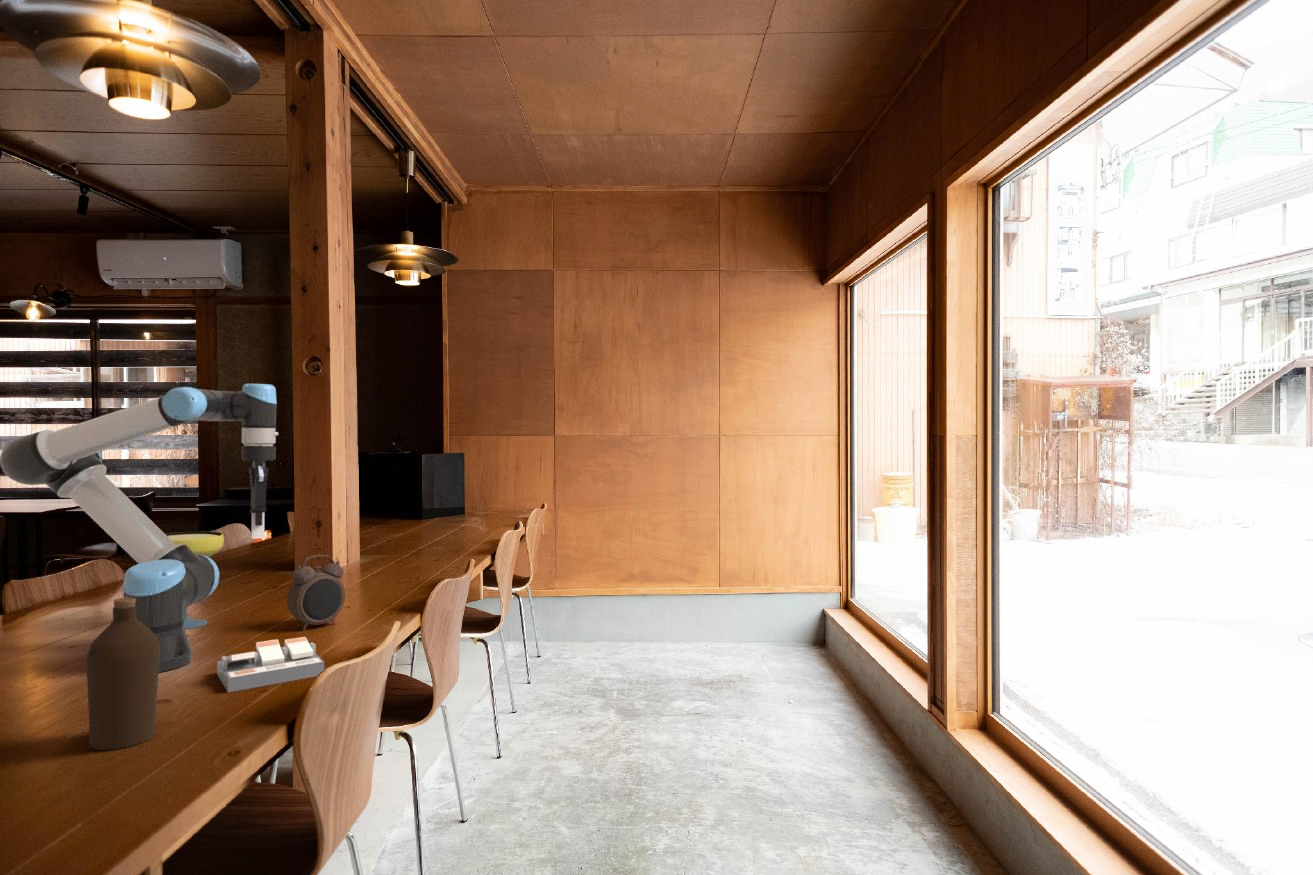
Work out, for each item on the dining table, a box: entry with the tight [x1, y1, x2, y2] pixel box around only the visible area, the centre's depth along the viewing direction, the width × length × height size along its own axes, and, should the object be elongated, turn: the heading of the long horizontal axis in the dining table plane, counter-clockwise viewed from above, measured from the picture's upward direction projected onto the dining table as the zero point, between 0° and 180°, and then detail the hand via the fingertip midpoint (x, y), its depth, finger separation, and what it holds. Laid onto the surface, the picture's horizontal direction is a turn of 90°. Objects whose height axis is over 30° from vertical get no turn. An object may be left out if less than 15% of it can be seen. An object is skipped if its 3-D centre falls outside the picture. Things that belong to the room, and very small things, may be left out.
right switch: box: [284, 636, 313, 659], centre depth 169 cm, size 4×8×1 cm, turn 39°
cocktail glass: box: [165, 530, 225, 631], centre depth 202 cm, size 18×18×25 cm
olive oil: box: [85, 597, 160, 751], centre depth 129 cm, size 11×11×25 cm
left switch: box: [226, 651, 255, 662], centre depth 161 cm, size 4×8×1 cm, turn 39°
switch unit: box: [216, 642, 325, 693], centre depth 164 cm, size 19×14×5 cm
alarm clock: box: [286, 554, 346, 631], centre depth 204 cm, size 15×7×20 cm, turn 143°
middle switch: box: [255, 638, 285, 666], centre depth 165 cm, size 4×8×1 cm, turn 39°
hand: (257, 538), depth 184 cm, fingers closed
